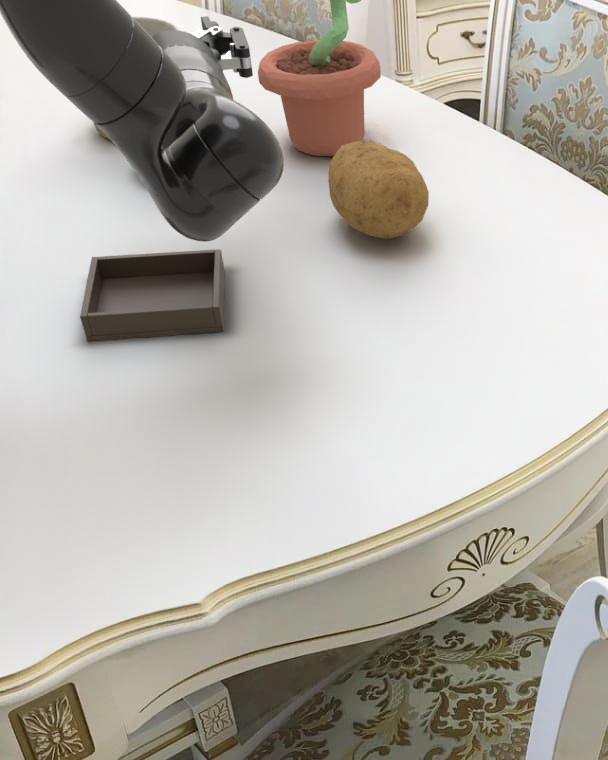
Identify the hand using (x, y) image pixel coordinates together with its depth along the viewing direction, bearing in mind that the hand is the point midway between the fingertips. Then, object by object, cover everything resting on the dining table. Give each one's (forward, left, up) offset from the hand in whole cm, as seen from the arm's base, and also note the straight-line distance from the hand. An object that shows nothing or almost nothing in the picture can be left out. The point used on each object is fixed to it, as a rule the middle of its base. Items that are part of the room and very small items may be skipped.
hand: (160, 31), depth 106 cm
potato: (+19, -6, -18) cm, 27 cm away
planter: (-7, +24, -18) cm, 31 cm away
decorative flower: (+15, +17, -18) cm, 29 cm away
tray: (-3, -19, -18) cm, 26 cm away
